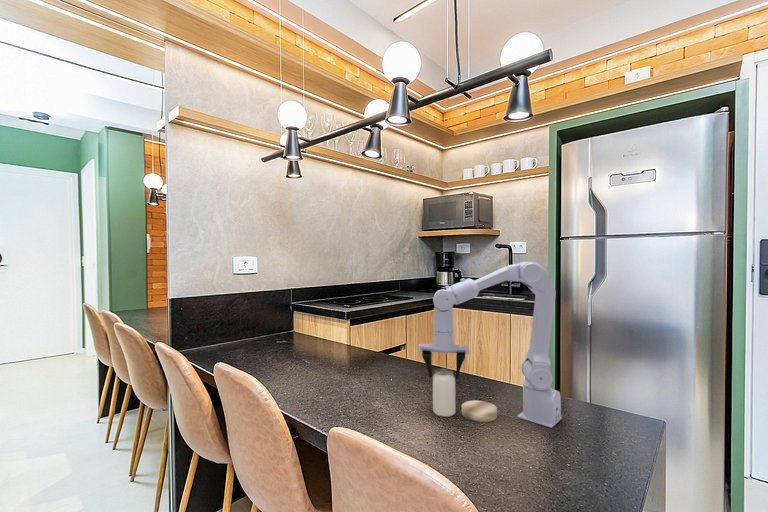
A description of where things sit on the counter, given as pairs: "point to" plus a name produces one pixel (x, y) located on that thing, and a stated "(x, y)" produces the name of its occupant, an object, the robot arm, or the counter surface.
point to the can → (444, 392)
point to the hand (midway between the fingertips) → (443, 377)
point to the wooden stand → (479, 411)
